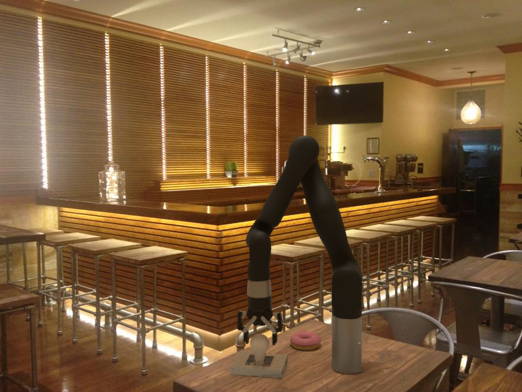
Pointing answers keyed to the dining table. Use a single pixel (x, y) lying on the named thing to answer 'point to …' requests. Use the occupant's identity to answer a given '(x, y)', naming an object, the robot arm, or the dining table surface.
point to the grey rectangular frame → (274, 371)
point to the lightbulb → (259, 348)
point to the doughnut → (305, 340)
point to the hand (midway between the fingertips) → (260, 343)
